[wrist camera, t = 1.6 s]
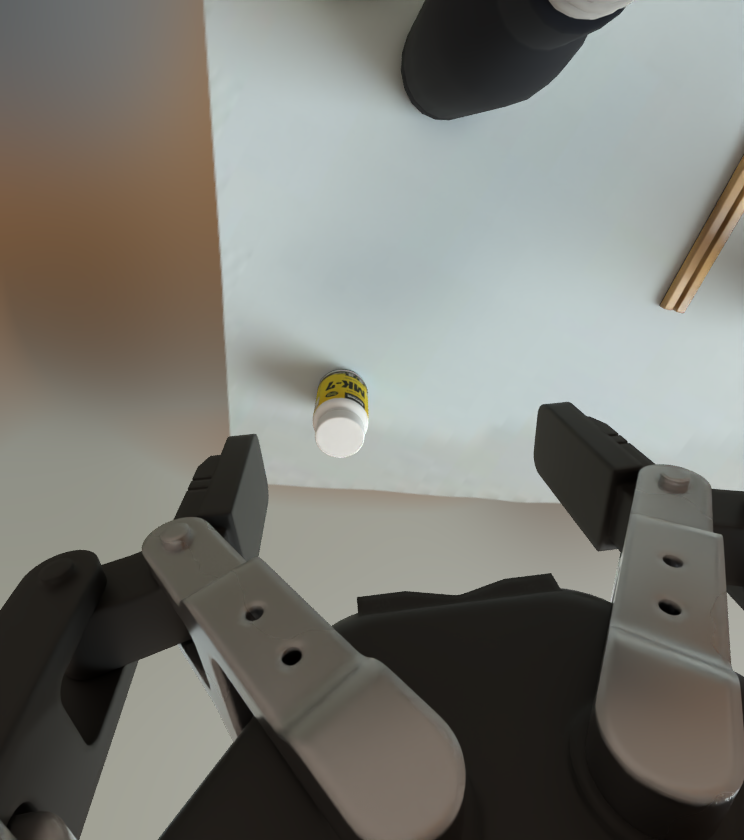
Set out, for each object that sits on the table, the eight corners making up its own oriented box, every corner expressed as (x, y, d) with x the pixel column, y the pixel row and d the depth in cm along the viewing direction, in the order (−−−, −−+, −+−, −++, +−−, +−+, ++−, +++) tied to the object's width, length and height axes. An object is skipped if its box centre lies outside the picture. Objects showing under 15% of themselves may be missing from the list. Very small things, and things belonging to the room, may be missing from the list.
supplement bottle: (372, 373, 43) (375, 418, 36) (361, 415, 46) (363, 466, 39) (321, 363, 43) (315, 408, 36) (313, 407, 45) (306, 457, 38)
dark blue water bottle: (396, 10, 30) (657, -772, 4) (495, -4, 30) (1368, -905, 4) (404, 126, 33) (578, 68, 8) (493, 114, 33) (974, 14, 8)
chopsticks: (760, 124, 34) (768, 123, 33) (783, 131, 34) (791, 131, 34) (659, 305, 41) (664, 308, 40) (678, 310, 41) (684, 313, 41)
